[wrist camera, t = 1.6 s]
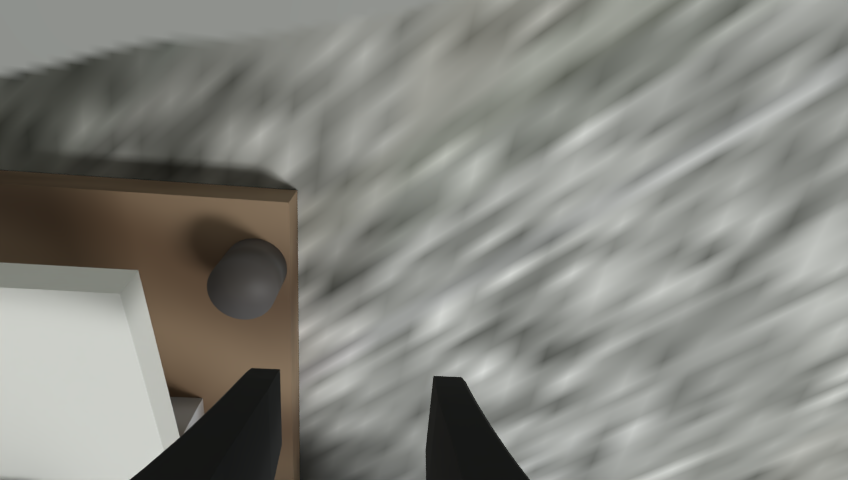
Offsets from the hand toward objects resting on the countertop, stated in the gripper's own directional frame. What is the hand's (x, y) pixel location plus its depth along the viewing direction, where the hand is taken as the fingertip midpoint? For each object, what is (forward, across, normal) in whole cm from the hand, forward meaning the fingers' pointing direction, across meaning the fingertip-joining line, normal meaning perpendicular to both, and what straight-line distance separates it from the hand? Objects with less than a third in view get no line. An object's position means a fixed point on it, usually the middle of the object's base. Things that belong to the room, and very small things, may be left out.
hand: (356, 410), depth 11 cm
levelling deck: (+5, +11, +7) cm, 14 cm away
